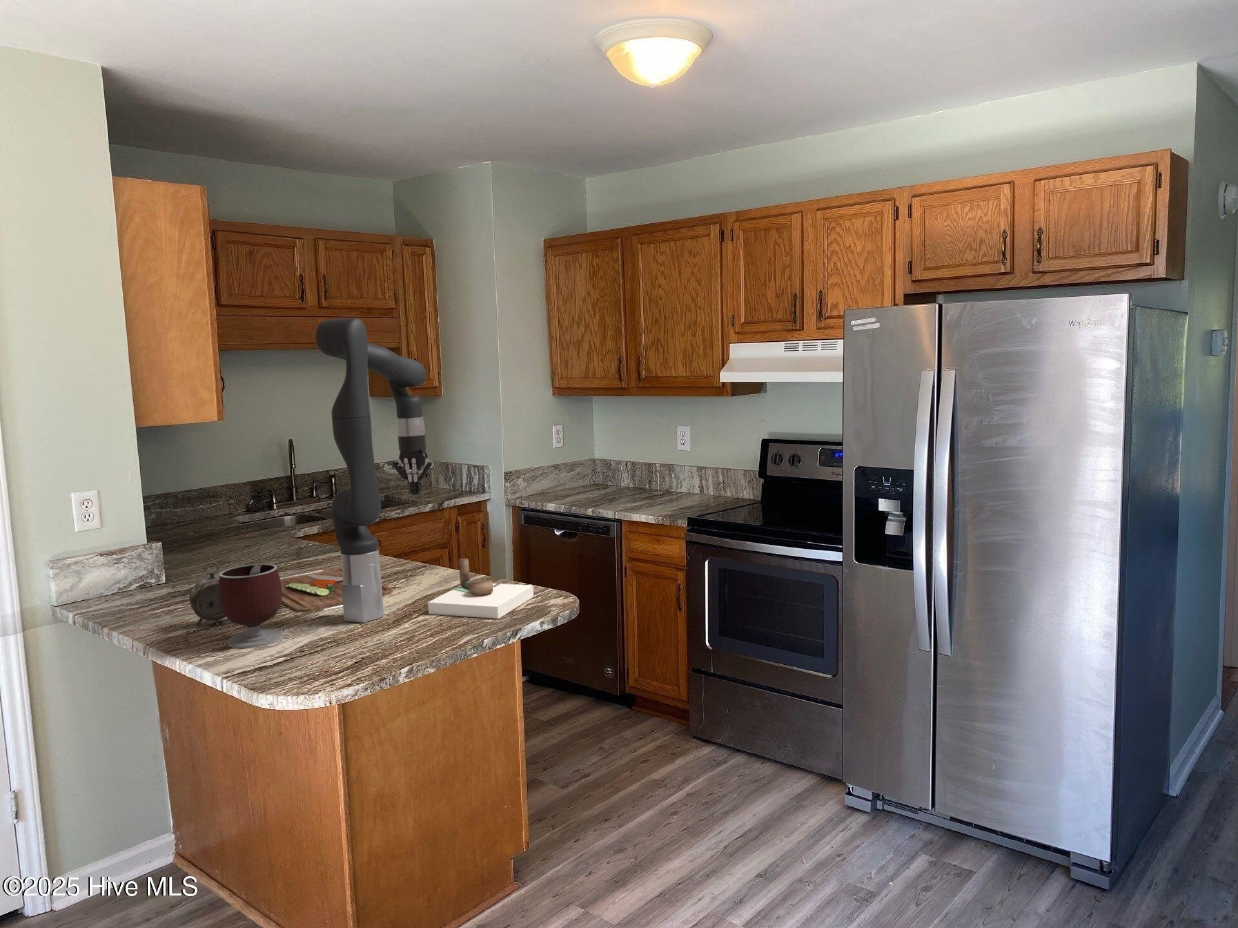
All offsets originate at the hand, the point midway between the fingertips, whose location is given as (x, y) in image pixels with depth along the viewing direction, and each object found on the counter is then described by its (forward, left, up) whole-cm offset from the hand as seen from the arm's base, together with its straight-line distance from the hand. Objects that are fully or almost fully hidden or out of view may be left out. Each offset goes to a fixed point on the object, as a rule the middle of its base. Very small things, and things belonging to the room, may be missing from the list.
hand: (416, 494), depth 256 cm
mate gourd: (-52, +13, -27) cm, 60 cm away
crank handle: (-12, -24, -23) cm, 35 cm away
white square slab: (-14, -27, -27) cm, 40 cm away
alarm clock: (-43, +34, -27) cm, 61 cm away
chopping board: (-9, +28, -27) cm, 40 cm away
